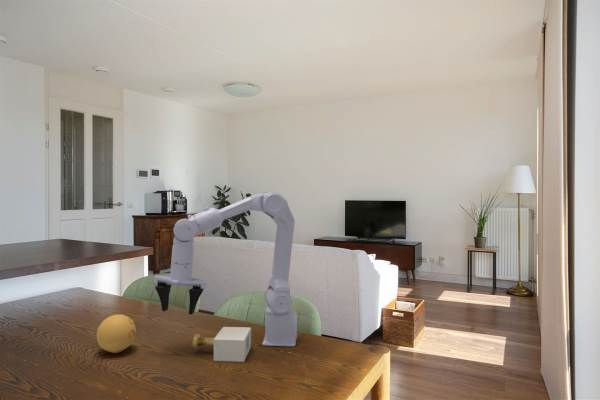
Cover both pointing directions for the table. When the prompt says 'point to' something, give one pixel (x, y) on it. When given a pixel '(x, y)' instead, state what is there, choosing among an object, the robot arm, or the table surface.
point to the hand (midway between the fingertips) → (178, 311)
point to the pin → (201, 341)
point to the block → (232, 344)
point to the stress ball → (116, 333)
